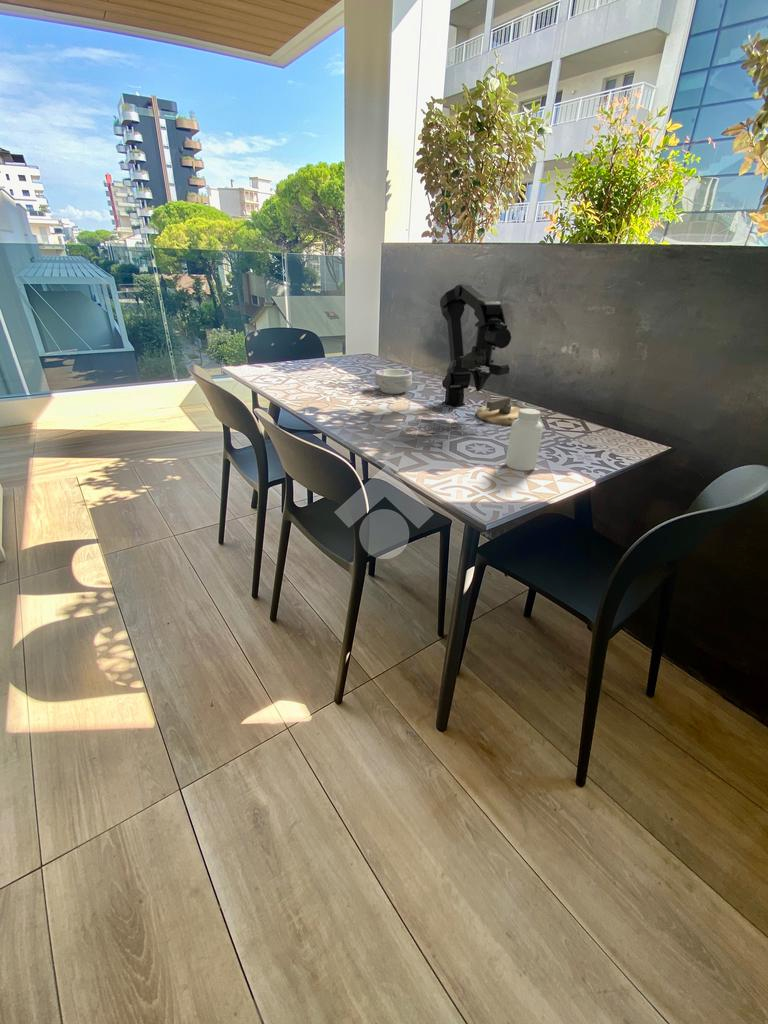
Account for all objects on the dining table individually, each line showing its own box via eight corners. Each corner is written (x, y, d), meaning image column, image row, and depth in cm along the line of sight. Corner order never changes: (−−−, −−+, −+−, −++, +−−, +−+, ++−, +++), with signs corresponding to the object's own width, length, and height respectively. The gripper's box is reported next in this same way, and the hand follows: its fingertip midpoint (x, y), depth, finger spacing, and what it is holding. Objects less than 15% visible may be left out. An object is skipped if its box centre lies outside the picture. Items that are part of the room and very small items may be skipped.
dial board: (465, 414, 160) (466, 409, 160) (498, 406, 172) (498, 401, 171) (510, 428, 148) (511, 423, 147) (542, 418, 159) (543, 413, 158)
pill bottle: (500, 460, 124) (509, 406, 117) (529, 459, 125) (539, 406, 118) (510, 471, 117) (520, 415, 110) (540, 471, 118) (552, 415, 111)
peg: (503, 409, 161) (505, 395, 159) (512, 412, 159) (515, 398, 156) (476, 417, 153) (478, 402, 150) (485, 419, 150) (487, 405, 148)
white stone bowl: (373, 386, 193) (373, 367, 189) (408, 386, 195) (409, 368, 191) (376, 396, 180) (376, 375, 176) (414, 396, 181) (415, 376, 178)
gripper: (446, 341, 148) (442, 388, 156) (492, 349, 136) (485, 400, 144) (468, 338, 155) (463, 384, 162) (514, 346, 143) (506, 395, 150)
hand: (478, 391), depth 154 cm, fingers closed
